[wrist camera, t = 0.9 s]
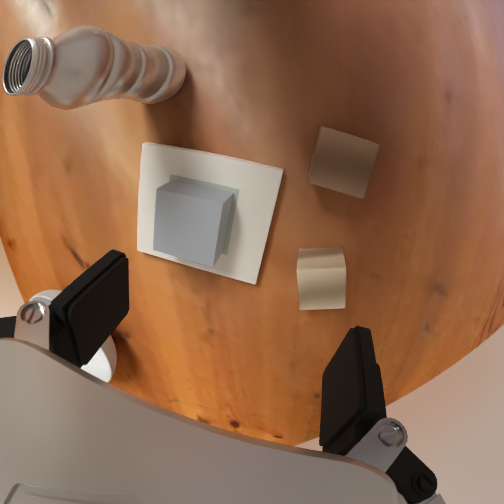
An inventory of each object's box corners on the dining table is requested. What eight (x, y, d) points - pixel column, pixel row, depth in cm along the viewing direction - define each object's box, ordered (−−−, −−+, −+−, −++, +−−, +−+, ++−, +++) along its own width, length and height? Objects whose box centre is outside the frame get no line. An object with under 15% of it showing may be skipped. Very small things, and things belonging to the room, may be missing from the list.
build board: (147, 142, 31) (142, 143, 30) (283, 168, 30) (282, 171, 28) (141, 246, 37) (136, 250, 36) (256, 279, 36) (255, 285, 35)
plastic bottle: (204, 74, 26) (66, 44, 9) (161, 115, 29) (13, 141, 12) (170, 39, 25) (30, -2, 7) (130, 80, 28) (-16, 83, 10)
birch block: (298, 248, 33) (296, 270, 29) (341, 246, 32) (346, 267, 28) (301, 285, 36) (299, 309, 31) (342, 283, 34) (345, 308, 30)
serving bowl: (81, 261, 41) (55, 283, 35) (149, 357, 48) (133, 384, 42) (35, 289, 49) (15, 307, 43) (90, 364, 56) (75, 384, 50)
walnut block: (319, 124, 27) (322, 126, 22) (366, 139, 26) (379, 144, 21) (308, 170, 29) (307, 182, 24) (353, 183, 29) (363, 199, 24)
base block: (173, 179, 31) (156, 188, 27) (233, 192, 30) (222, 203, 27) (168, 235, 34) (153, 249, 31) (223, 250, 34) (212, 267, 30)
